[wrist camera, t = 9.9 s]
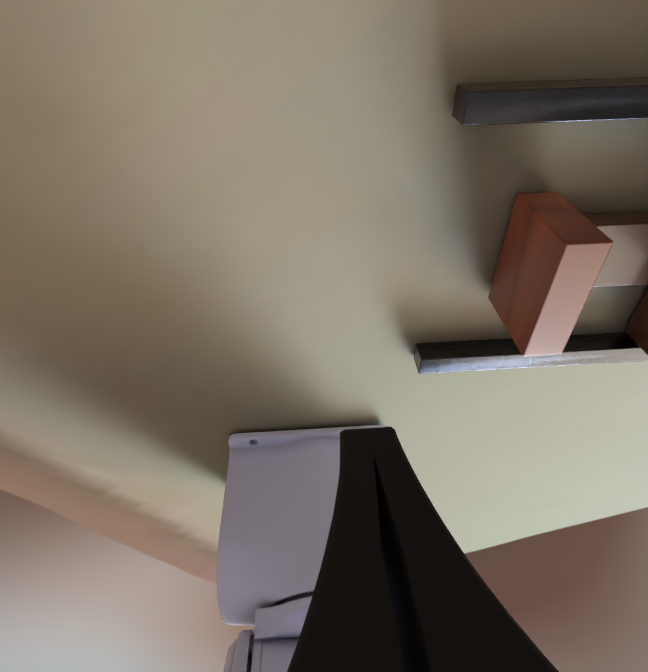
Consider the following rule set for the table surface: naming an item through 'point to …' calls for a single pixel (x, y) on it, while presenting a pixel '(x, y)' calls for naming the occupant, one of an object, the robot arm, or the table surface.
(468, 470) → the table surface
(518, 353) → the rails
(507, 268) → the carrier
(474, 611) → the robot arm
